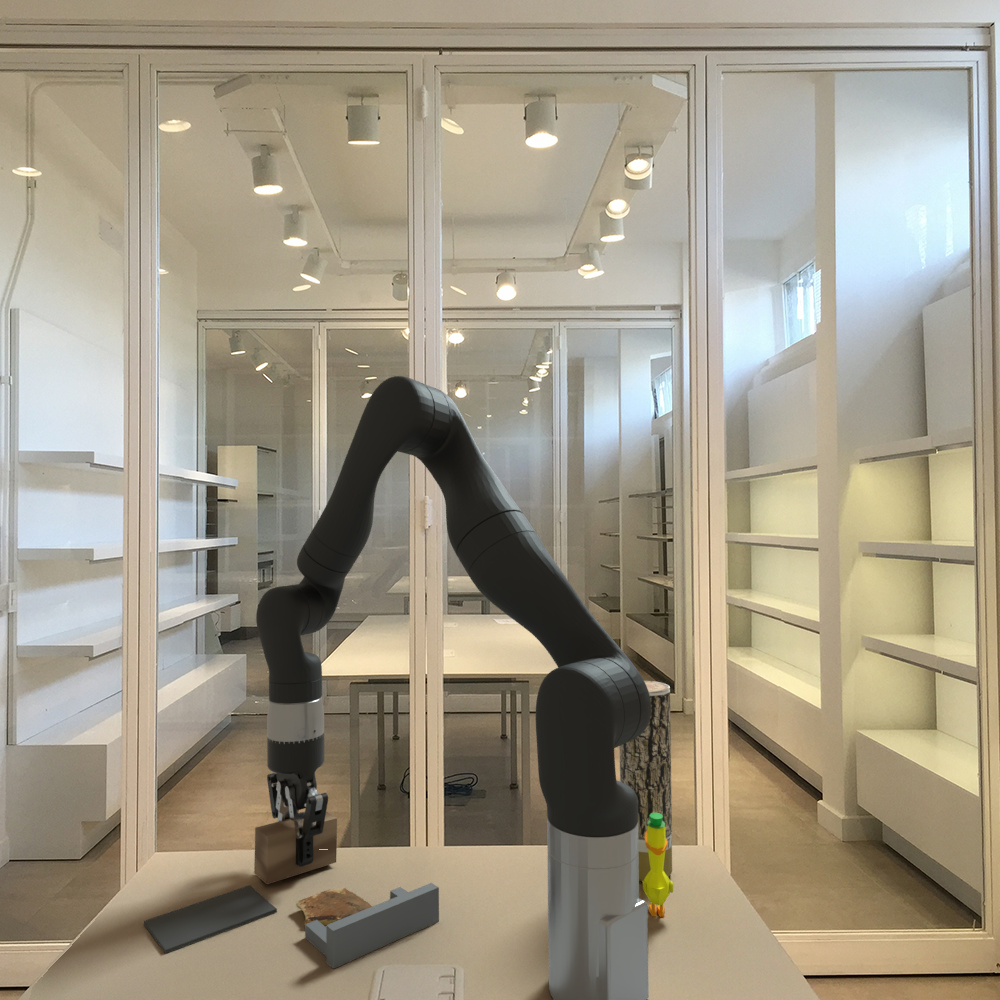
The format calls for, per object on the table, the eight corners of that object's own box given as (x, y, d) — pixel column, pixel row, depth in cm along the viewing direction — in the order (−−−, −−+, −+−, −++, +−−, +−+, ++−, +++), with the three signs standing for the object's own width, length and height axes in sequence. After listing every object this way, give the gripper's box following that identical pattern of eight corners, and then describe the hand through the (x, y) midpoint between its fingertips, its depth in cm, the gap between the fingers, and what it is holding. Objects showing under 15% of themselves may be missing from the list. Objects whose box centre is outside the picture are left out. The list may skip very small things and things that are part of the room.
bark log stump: (614, 878, 100) (612, 688, 100) (630, 857, 106) (628, 678, 106) (664, 889, 96) (662, 694, 97) (678, 867, 102) (675, 683, 103)
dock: (439, 921, 89) (438, 887, 89) (333, 968, 80) (333, 930, 80) (403, 897, 95) (403, 865, 95) (301, 939, 86) (300, 903, 86)
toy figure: (639, 897, 95) (638, 801, 95) (668, 897, 94) (666, 801, 95) (645, 926, 88) (644, 822, 88) (676, 927, 88) (674, 823, 88)
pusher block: (336, 862, 103) (337, 818, 104) (267, 884, 97) (268, 837, 97) (322, 852, 106) (323, 809, 107) (254, 873, 100) (255, 827, 100)
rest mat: (276, 912, 92) (276, 908, 92) (165, 953, 83) (165, 949, 83) (250, 888, 98) (250, 884, 98) (143, 924, 89) (143, 921, 89)
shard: (391, 931, 88) (390, 916, 88) (333, 958, 83) (332, 941, 83) (343, 896, 96) (343, 882, 96) (288, 918, 91) (288, 903, 91)
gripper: (346, 736, 99) (347, 867, 99) (297, 716, 110) (298, 834, 110) (294, 748, 94) (294, 886, 94) (248, 726, 105) (248, 850, 105)
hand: (296, 857), depth 102 cm, fingers closed on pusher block, 4 cm apart
